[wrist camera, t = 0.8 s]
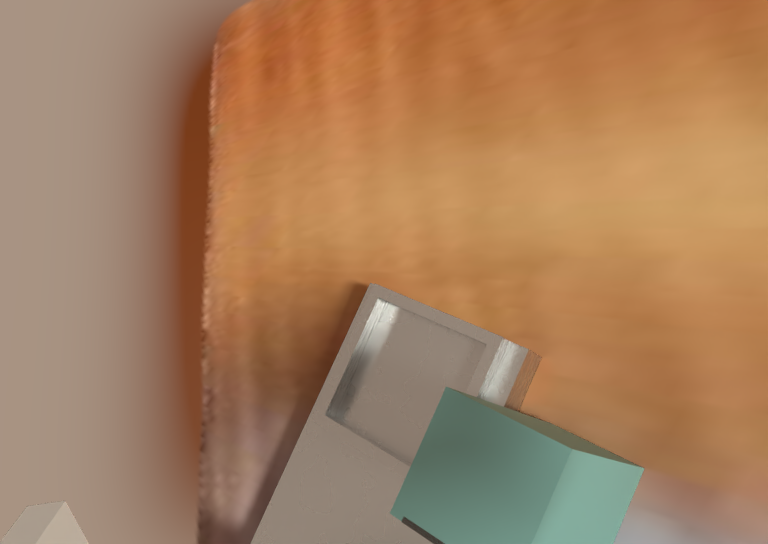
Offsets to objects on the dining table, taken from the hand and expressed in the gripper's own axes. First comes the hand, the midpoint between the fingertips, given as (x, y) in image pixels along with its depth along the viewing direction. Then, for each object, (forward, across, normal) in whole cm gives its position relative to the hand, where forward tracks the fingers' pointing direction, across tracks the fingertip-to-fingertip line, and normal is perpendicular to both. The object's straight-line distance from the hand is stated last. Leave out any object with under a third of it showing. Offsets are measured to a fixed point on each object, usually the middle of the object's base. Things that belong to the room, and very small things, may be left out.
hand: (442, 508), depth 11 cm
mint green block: (+15, +4, -14) cm, 21 cm away
